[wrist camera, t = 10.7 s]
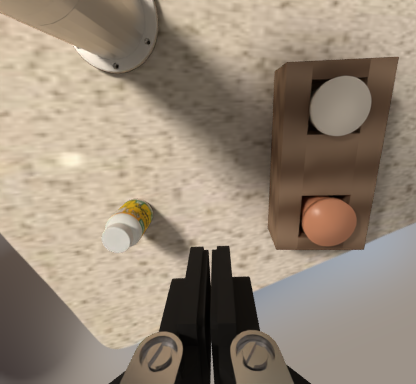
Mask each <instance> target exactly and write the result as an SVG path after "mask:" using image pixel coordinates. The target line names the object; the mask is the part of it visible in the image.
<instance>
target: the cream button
mask: <svg viewBox="0 0 416 384" xmlns="http://www.w3.org/2000/svg"><path fill="white" fill-rule="evenodd" d="M370 108H371V94H370V91H369V89H368V87H367V86H366V84H365V83H364V82H363V81H361V80H360V79H358V78H356V77H353V76H340V77H337V78H333V79H331V80H328V81H327V82H325V83H324V84H322V85H321V86H320V87H319V88H318V89H316V90H314V91H312V92H311V95H310V107H309V119H308V123H309V124H310V125H312V126H314V127H315V128H316V129H317V130H319V131H320V132H322V133H324V134H327V135H331V136H343V135H347V134H349V133H351V132H353V131H355V130H356V129H358V128H359V127H360V126H361V125H362V124H363V123H364V121H365V120H366V118H367V116H368V114H369V112H370Z"/></svg>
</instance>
